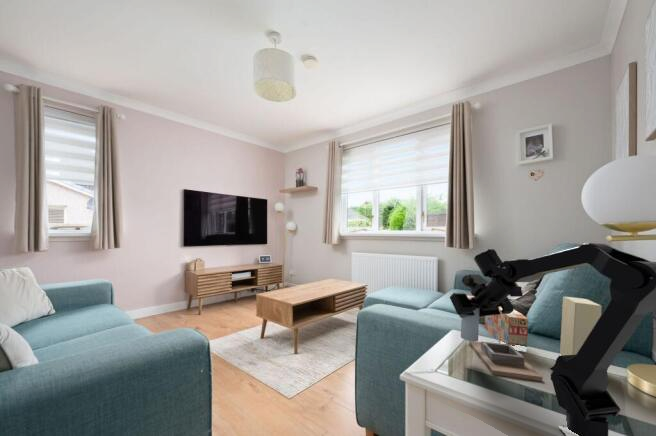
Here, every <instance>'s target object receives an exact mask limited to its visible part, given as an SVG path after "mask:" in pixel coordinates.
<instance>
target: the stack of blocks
mask: <svg viewBox="0 0 656 436" xmlns="http://www.w3.org/2000/svg"><path fill="white" fill-rule="evenodd" d="M498 310H499V312H500V314H499V315H491V316H484V329H485V328H486V329H485V330H486V331H487V332H488V333H490V335H491V336H492V337H493V338H494V339H495V340H497V341H498V340H499V341H502V342H504V343H506V344H507V345H512V346H515V345H520V346H525V347H527V348H528V336H529V335H528V334H529V332H528V331H529V318H528V317H526V316H525V315H524V314H522V313H521V312H519V311H517V310H516V309H514V308H513V312H511V313H510V314H502V312H501V310H503V309H502V308H501V306H500V307H499V309H498ZM499 341H498V342H499Z"/></svg>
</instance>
